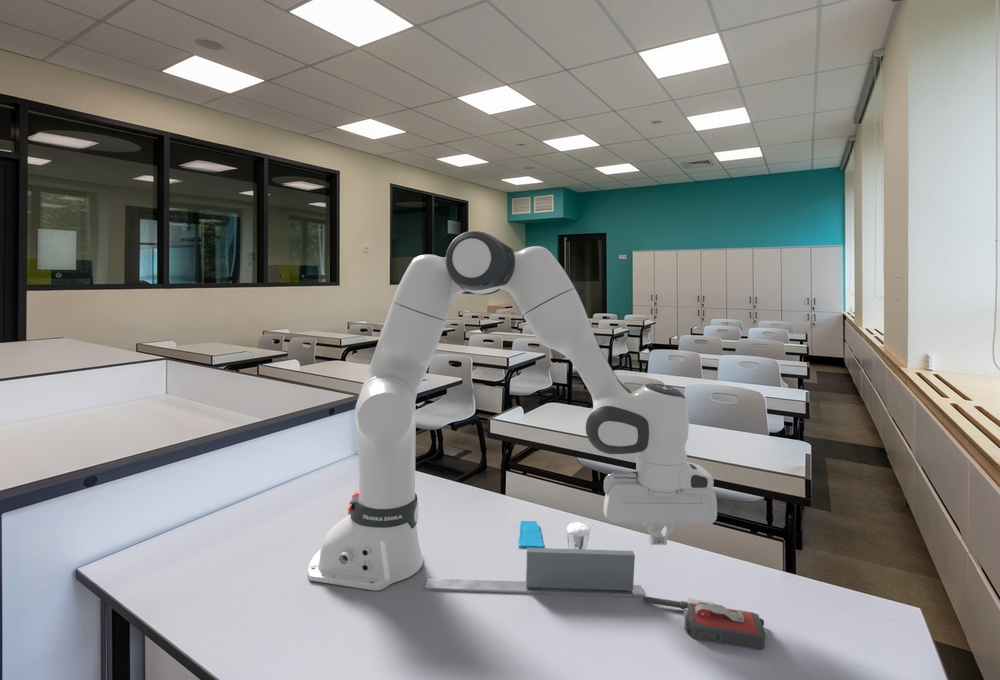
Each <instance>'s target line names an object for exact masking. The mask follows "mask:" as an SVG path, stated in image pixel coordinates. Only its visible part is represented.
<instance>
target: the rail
mask: <svg viewBox="0 0 1000 680" xmlns="http://www.w3.org/2000/svg"><path fill="white" fill-rule="evenodd" d="M424 591H438V592H439V591H442V592H471V593H472V592H474V593H475V592H476V593H477V592H479V593H505V594H507V593H508V594H530V595H531V594H532V595H534V594H535V595H536V594H537V595H538V594H539V595H565V596H566V595H567V596H592V597H593V596H595V597H596V596H597V597H600V596H602V597H626V598H627V597H629V598H631V597H633V598H643V597H644V596H645V592H644V590H643V587H642V585H641V584H633V590H605V589H574V588H542V587H526V581H520V580H519V581H517V580H514V581H513V580H489V579H487V580H486V579H459V578H458V579H456V578H455V579H453V578H452V579H451V578H427V579H426V582H425V587H424Z"/></svg>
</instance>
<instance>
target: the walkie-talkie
mask: <svg viewBox="0 0 1000 680" xmlns="http://www.w3.org/2000/svg"><path fill="white" fill-rule="evenodd" d="M642 602H644V603H646V604H652V605H658V606H665V607H672V608H679V609H681V610H683V617H684V630H685V631H686V632H689V634H690V638H691V639H693V640H696V641H697V640H698V641H704V642H710V643H715V644H720V645H721V644H723V645H728V646H729V645H730V646H735V647H742V648H748V649H753V650H754V649H755V650H760V651H762V650H764V649H765V646H766V645H765V642H766V632H765V631H766V630H765V628H764V626H765V621H764V619H762V618H761V617H760V615H759V614H758V613H755V612H751V611H747V610H746V611H745V610H741V609H738V610H737V609H733V608H726V607H725V606H724V605H721V604H716V603H714V602H713V601H707V600H700V599H694V598H692V597H688V598H687V601H684V600H681V601H678V600H671V599H665V598H658V597H651V596H644V597H642Z"/></svg>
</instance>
